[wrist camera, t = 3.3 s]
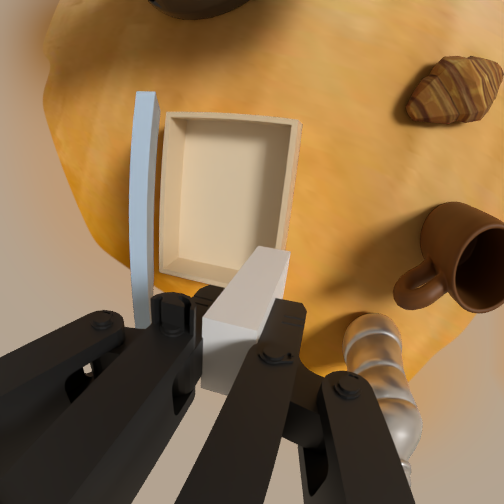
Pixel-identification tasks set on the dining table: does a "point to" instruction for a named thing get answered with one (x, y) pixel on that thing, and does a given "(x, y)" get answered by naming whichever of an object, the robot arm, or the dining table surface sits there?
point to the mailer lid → (143, 204)
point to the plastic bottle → (385, 378)
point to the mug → (457, 261)
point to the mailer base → (224, 191)
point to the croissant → (456, 91)
